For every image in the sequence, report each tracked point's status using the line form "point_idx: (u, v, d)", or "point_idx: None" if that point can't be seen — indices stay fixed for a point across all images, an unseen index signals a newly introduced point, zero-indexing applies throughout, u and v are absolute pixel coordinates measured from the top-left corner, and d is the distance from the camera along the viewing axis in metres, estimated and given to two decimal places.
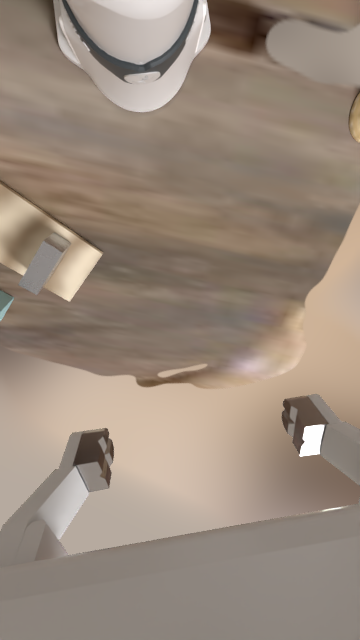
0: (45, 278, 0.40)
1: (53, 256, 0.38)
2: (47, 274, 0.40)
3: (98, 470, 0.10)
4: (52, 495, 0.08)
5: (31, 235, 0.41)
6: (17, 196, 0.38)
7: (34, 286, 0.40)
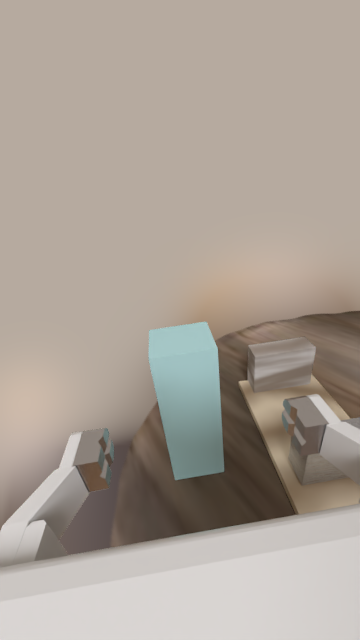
0: None
1: None
2: None
3: (98, 470, 0.10)
4: (52, 495, 0.08)
5: None
6: (336, 403, 0.35)
7: None
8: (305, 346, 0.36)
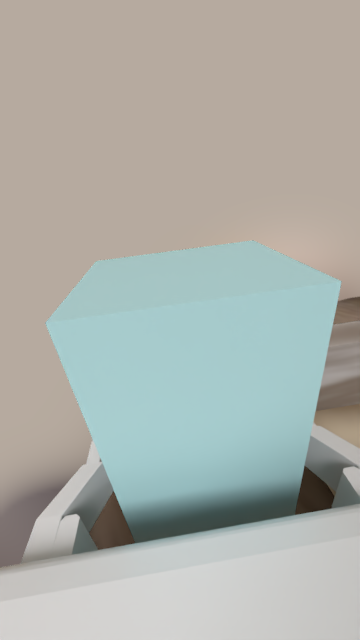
0: None
1: None
2: None
3: None
4: (82, 490, 0.08)
5: None
6: None
7: None
8: None
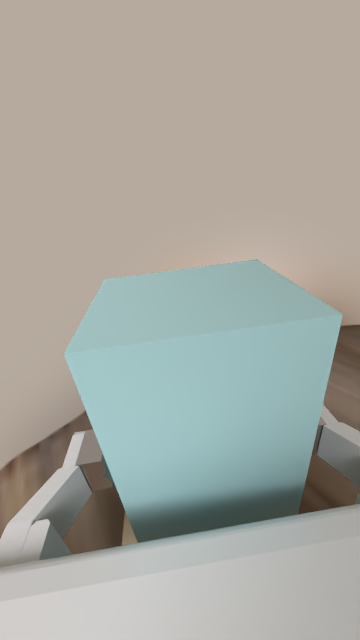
0: None
1: None
2: None
3: (101, 470, 0.10)
4: (56, 494, 0.08)
5: None
6: None
7: None
8: None
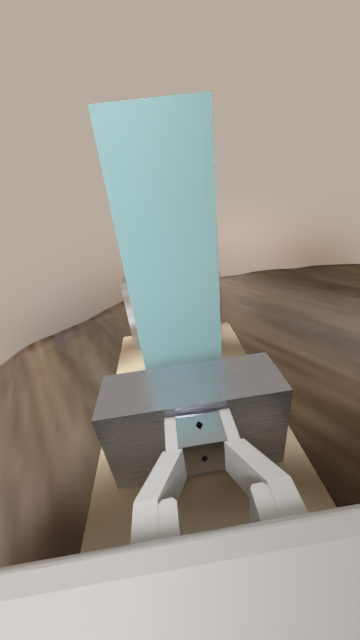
0: (172, 405, 0.11)
1: (257, 381, 0.12)
2: (190, 401, 0.11)
3: (201, 453, 0.10)
4: (169, 475, 0.09)
5: None
6: None
7: (121, 401, 0.12)
8: None
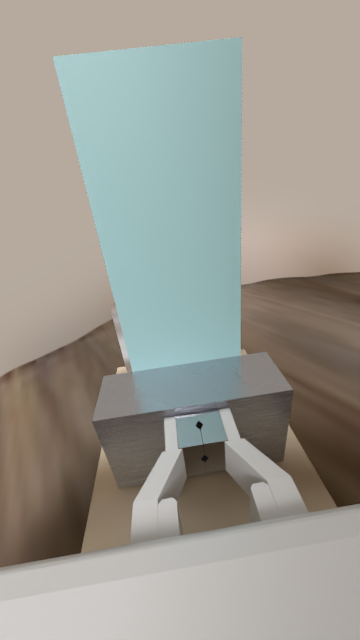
0: (172, 405, 0.11)
1: (257, 381, 0.12)
2: (191, 401, 0.11)
3: (201, 453, 0.10)
4: (169, 475, 0.09)
5: (231, 479, 0.13)
6: None
7: (122, 401, 0.12)
8: None
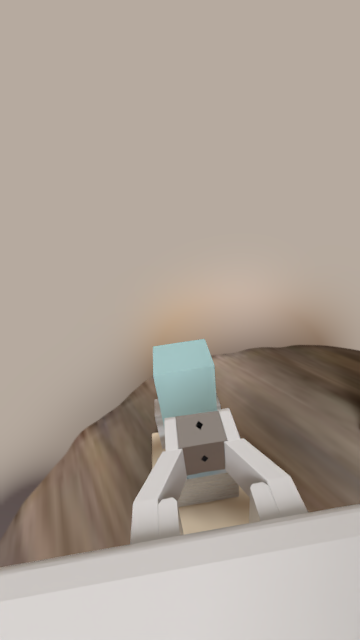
0: (189, 477, 0.27)
1: None
2: (197, 475, 0.27)
3: (201, 453, 0.10)
4: (169, 475, 0.09)
5: (215, 505, 0.29)
6: None
7: None
8: None
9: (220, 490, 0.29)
